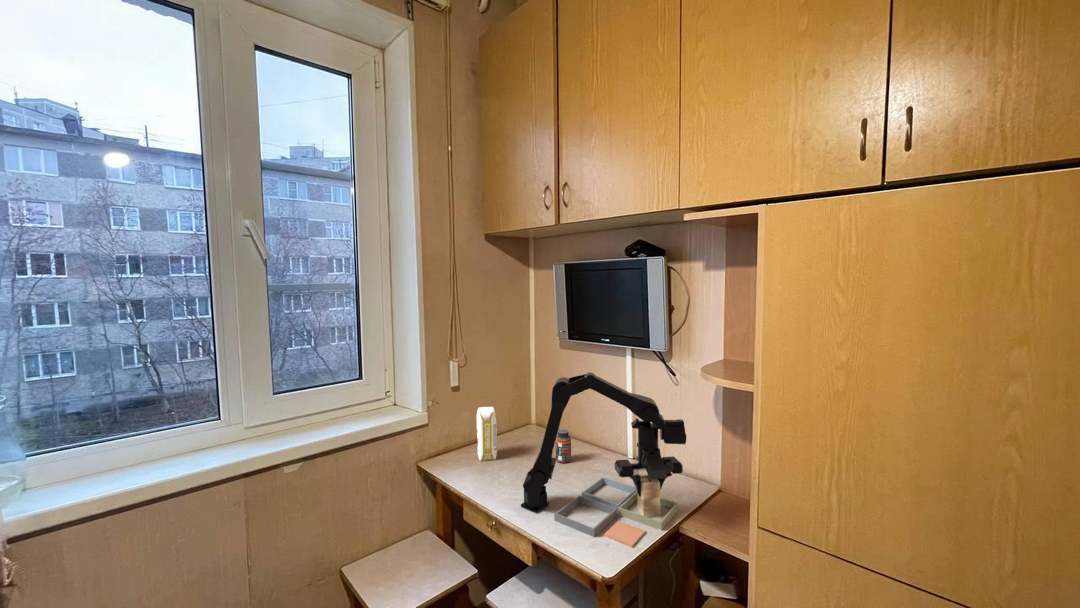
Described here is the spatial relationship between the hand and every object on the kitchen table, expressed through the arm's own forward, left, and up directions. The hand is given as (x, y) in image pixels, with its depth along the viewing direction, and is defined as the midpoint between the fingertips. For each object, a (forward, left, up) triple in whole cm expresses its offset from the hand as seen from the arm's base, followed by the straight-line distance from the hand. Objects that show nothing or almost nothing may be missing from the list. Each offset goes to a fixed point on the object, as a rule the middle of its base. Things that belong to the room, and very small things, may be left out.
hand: (648, 495), depth 121 cm
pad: (0, -14, -5) cm, 15 cm away
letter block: (0, 0, -5) cm, 5 cm away
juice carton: (-67, 0, -5) cm, 67 cm away
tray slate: (-13, +2, -5) cm, 14 cm away
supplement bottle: (-41, +15, -5) cm, 44 cm away
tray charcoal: (-13, -13, -5) cm, 19 cm away
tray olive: (0, 0, -5) cm, 5 cm away
